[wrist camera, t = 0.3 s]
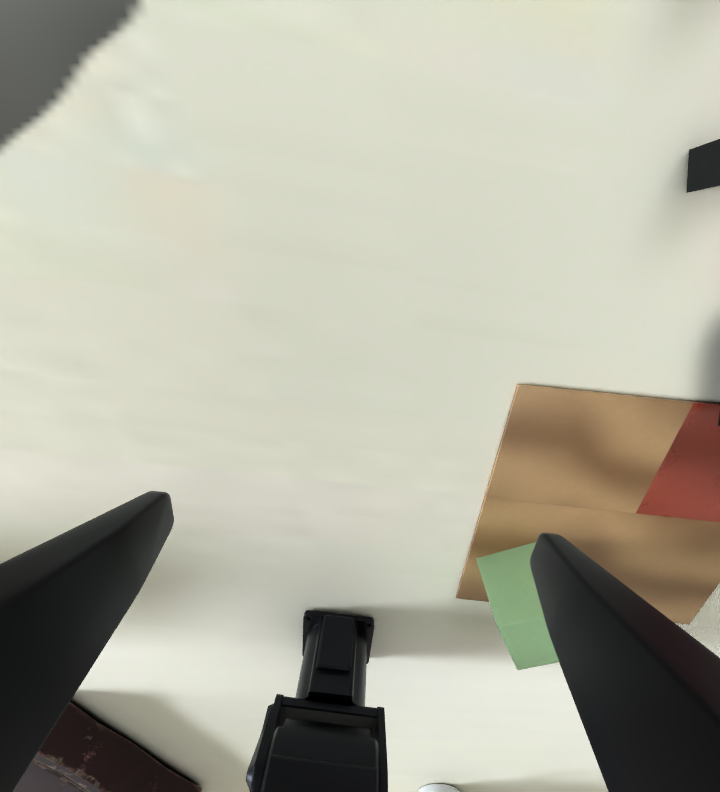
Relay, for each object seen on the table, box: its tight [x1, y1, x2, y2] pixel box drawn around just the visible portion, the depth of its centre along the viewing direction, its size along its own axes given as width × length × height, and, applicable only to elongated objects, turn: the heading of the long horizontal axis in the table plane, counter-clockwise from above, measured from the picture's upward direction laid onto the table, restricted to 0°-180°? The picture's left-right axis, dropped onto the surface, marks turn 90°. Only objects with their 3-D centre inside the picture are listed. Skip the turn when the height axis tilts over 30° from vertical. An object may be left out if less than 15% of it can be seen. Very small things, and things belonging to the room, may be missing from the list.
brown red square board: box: [456, 384, 720, 624], centre depth 25 cm, size 20×20×1 cm
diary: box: [13, 702, 202, 792], centre depth 43 cm, size 19×25×5 cm
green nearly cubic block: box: [476, 542, 559, 670], centre depth 25 cm, size 5×5×6 cm
